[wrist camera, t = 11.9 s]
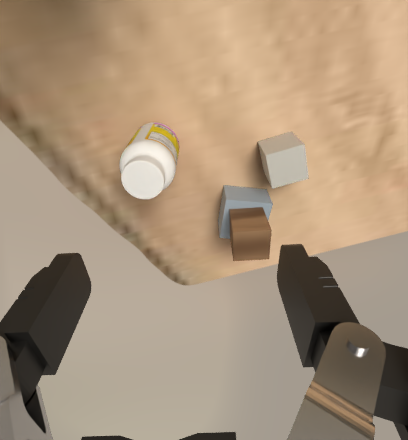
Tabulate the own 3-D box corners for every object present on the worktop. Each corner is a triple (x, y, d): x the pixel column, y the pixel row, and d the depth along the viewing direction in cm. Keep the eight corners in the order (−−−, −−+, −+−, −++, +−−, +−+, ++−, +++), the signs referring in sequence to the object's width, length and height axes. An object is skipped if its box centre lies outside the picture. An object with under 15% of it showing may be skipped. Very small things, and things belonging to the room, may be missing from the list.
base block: (223, 184, 45) (226, 199, 41) (266, 188, 45) (272, 203, 41) (217, 220, 49) (219, 237, 44) (257, 224, 49) (262, 241, 45)
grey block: (257, 141, 41) (265, 155, 36) (291, 131, 40) (304, 144, 35) (263, 171, 44) (272, 188, 38) (295, 162, 43) (308, 178, 38)
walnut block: (229, 209, 42) (233, 232, 36) (262, 207, 41) (271, 229, 36) (229, 236, 44) (233, 261, 39) (261, 234, 44) (269, 259, 39)
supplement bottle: (142, 169, 43) (123, 211, 32) (128, 126, 40) (100, 158, 29) (184, 160, 42) (179, 201, 32) (173, 116, 39) (163, 145, 28)
